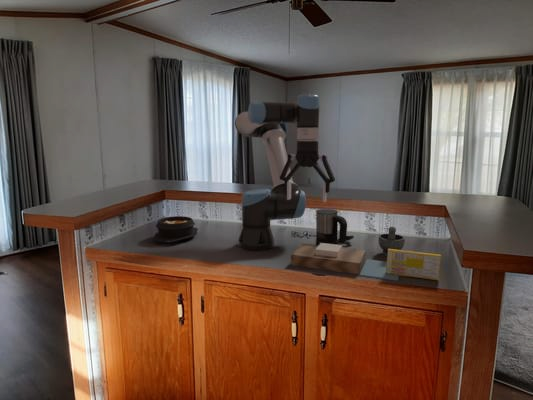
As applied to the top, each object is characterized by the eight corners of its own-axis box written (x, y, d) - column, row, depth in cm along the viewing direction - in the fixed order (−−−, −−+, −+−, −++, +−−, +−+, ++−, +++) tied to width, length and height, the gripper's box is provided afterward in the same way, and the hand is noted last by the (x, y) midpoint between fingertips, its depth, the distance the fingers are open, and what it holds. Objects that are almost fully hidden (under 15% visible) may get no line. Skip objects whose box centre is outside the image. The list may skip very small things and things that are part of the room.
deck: (291, 265, 136) (291, 254, 135) (302, 253, 149) (302, 243, 148) (359, 274, 127) (359, 263, 127) (365, 261, 140) (365, 250, 139)
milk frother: (311, 247, 157) (312, 211, 154) (324, 237, 170) (325, 204, 168) (345, 252, 150) (346, 215, 147) (356, 241, 164) (357, 207, 161)
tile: (315, 254, 135) (315, 249, 135) (320, 248, 142) (321, 242, 142) (337, 257, 132) (337, 251, 132) (342, 250, 140) (342, 245, 139)
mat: (359, 275, 126) (359, 274, 126) (366, 260, 141) (366, 259, 141) (398, 280, 122) (398, 279, 122) (400, 264, 136) (401, 263, 136)
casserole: (180, 248, 156) (179, 228, 155) (141, 244, 162) (140, 225, 160) (207, 232, 180) (206, 215, 178) (172, 229, 185) (171, 212, 184)
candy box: (438, 278, 124) (441, 254, 122) (438, 281, 122) (441, 256, 120) (385, 271, 129) (388, 247, 127) (385, 273, 127) (387, 249, 125)
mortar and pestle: (378, 249, 154) (379, 220, 151) (403, 251, 151) (404, 221, 149) (377, 258, 143) (379, 227, 141) (403, 260, 140) (405, 229, 138)
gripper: (270, 140, 134) (270, 199, 138) (340, 141, 126) (338, 204, 130) (277, 139, 141) (277, 196, 145) (344, 140, 132) (342, 200, 137)
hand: (306, 200), depth 137 cm, fingers open, 12 cm apart
